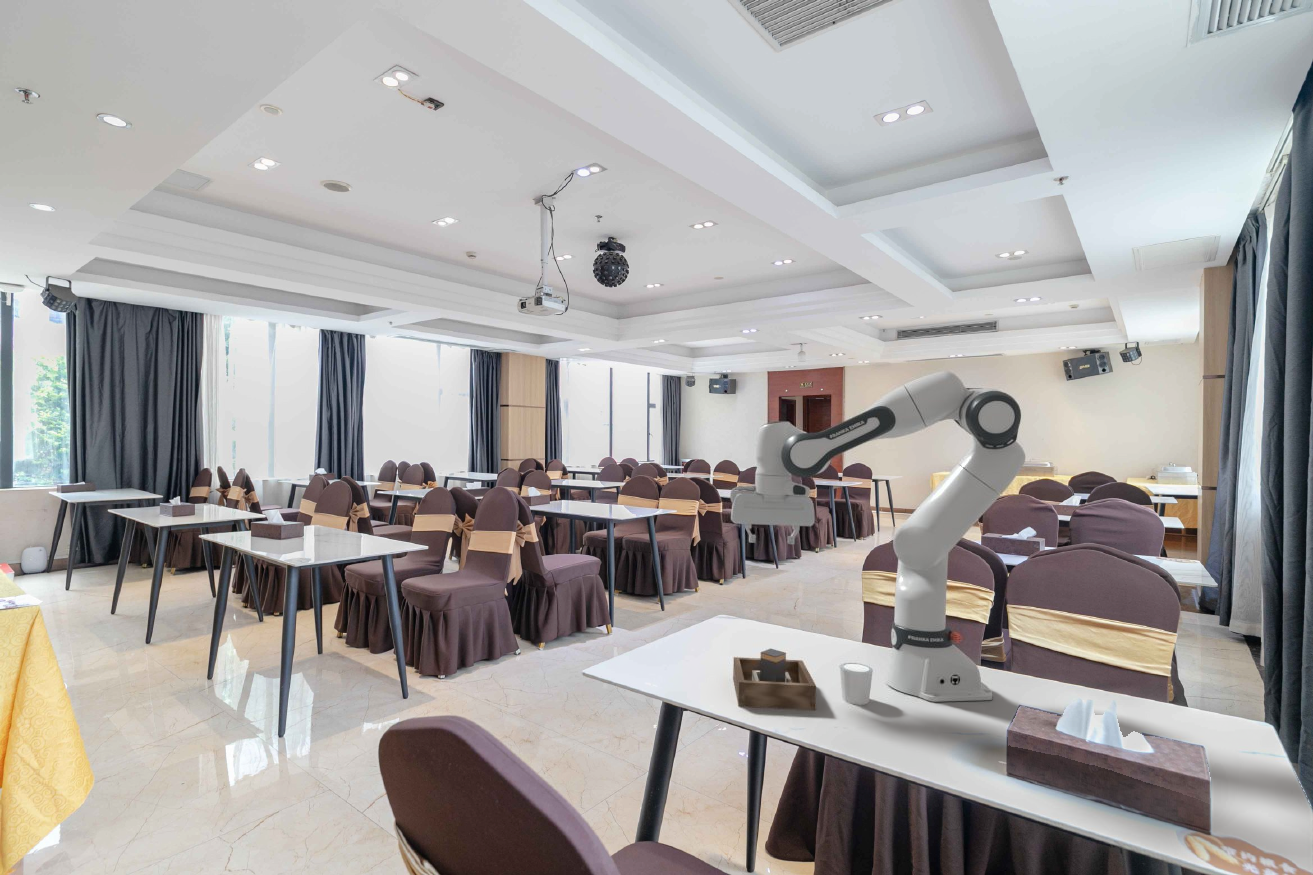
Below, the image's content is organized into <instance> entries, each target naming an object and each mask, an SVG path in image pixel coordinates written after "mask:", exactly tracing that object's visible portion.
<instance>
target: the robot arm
mask: <svg viewBox="0 0 1313 875" xmlns="http://www.w3.org/2000/svg"><path fill="white" fill-rule="evenodd" d="M947 420H953V421H954V422H955V423H956V424H957V425H958V426H959V427H960V428H961V429H963V430H964V431H965V432H967V434H969V435H971V436H972V444H971V446H970V448H969V450H968V452H967V453H966V454H965V455H964V457H962V458H961V460H960V461H959V462H958V463H956V465H955V466H954V467H953V469H951V470H950V472H949V473H948V474H947V475H946V476H945V477H944V479H943V480H942V481H940V483H939V484H938V485H937V486H936V487H935V488H934V490H932V492H931V493H930V494H929V495H928V496H927V497H926V498H925V499H924V501H923V502H921V504H920V505H919V506H918V507H917V508H916V509H915V510H914V511H913V512H912V514H910V516H908V518H907V519H906V520H905V521H904V522H903V524H902V525H900V527H899V528H898V529H897V530H896V532H895V534H894V537H893V540H892V543H893V544H892V545H893V546H892V547H893V550H894V553H895V555H896V557H897V561H898V562H897V571H896V579H895V586H894V614H893V615H894V621H892V622H891V624H892V625H891V636H890V637H891V639H890V640H891V646H892V652H891V655H890V656H891V657H890V661H889V662H890V663H889V667H888V671H887V675H886V678H885V683H886V685H888V686H889V687H891V688H892V689H895V690H897V691H899V692H902V693H905V694H908V695H912V696H916V697H918V698H920V699H923V700H926V701H929V702H935V703H938V702H968V701H973V702H975V701H991V700H993V692H992V690H991V688H989V686H987V685H986V684H985V683H983V682H982V680H981V679H982V678H981V673H980V669H979V668H978V666H977V664H976V663H975V662H974V661H973V660H972V659H971V658H970V657H969V656H968V655H966V653H964V652H963V651H962V650H961V649H959V648H958V647H957V646H956V645H955V644H954V642H955V643H957V644H958V643H961V642H962V641H963V636H962V635H961V634H960V633H958V632H957V631H953V630H951V629H950V628H948V627H947V626H946V619H947V616H946V615H947V614H946V611H947V587H948V583H947V582H948V567H949V564H948V563H949V552H951V551H952V549H953V548H954V547H955V546H956V545H957V544H958V543H959V542H960V541H961V539H962V538H963V537H964V536H965V535H966V534H967V533H968V531H969V530H970V529H971V528H972V527H973V526H974V525H975V524H976V523H977V521H978V520H979V519H980V518H981V517H982V516H983V514H985V513H986V512H987V511H988V509H989V508H991V506H992V505H993V504H994V503H995V502H996V501H997V499H999V498H1000V497H1001V495H1002V494H1003V493H1004V492H1005V491H1006V490H1007V489H1008V488H1009V486H1010V485H1011V484H1012V482H1013V481H1014V480H1015V478H1016V477H1017V475H1018V474H1019V472H1020V471H1021V470H1022V467H1023V466H1024V464H1025V462H1026V453H1025V451H1024V449H1023V447H1022V446H1021V445H1020V444H1019V443H1018V441H1017V440H1018V434H1019V429H1020V428H1019V427H1020V424H1021V422H1022V421H1021V420H1022V411H1021V408H1020V405H1019V403H1018V402H1017V401H1016V399H1015V398H1014V397H1013V396H1012V395H1010V394H1008V393H1006V392H1003V391H1001V390H998V389H996V388H980V387H979V388H978V387H977V388H976V387H973V388H972V387H966V386H965V385H964V383H963V381H962V380H961V378H960V377H958V376H957V375H956V374H954V373H953V372H951V371H947V370H942V371H937V372H935V373H934V372H932V373H930V374H928V375H925V376H922V377H919V378H917V379H913V380H912V381H911V380H910V381H909V382H907V383H905V384H902V385H900V386H898V387H896V388H895V389H893V390H891V391H889V392H888V393H886V394H885V395H883V396H882V397H880V398H879V399H877V401H875V402H874V403H872V404H870V405H869V406H868V407H867V408H865V409H864V410H863V411H861V412H860V413H858V414H857V415H854V416H853V417H851V418H849V419H846V420H844V421H843V422H840V423H838V424H835V425H833V426H831V427H829V428H826V429H825V430H824V429H823V430H822V431H818V432H806V431H804V430H801V429H799V428H798V427H797V426H794V425H793V424H792V423H791V422H790V421H787V420H781V421H778V420H777V421H772V422H771V421H770V422H768V423H764V424H762V425H761V426H760V428H759V429H758V432H757V436H756V444H755V459H756V469H755V475H754V476H755V477H754V479H755V481H754V485H751V486H750V485H747V486H743V485H737V486H736V487H733V488H732V489H731V490H730V496H729V497H730V499H729V500H730V502H731V504H732V506H731V512H730V513H731V514H730V520H731V522H732V523H734V524H740V525H741V524H742V525H744V528H745V530H746V532H747V535H748V542H749V543H754V544H755V543H756V538H757V536H756V534H753V533H752V532H751V530H750V529H752V525H766V526H768V525H769V526H770V525H771V526H792V530H793V532H792V533H791V534H790V535H787V544H788V545H795V541H796V540H795V539H796V537H797V535H798V533H799V532H800V527H812V526H813V525H814V524H815V521H816V518H815V508H814V506H815V504H814V503H813V499H812V498H811V497H809V496H810V495H811V489H810V487H808V486H807V485H804V484H801V483H799V482H797V481H793V480H792V476H794V477H796V478H803V479H805V478H811V477H814V476H815V475H818V474H821V473H823V472H824V471H825V470H826V469H827V468H829V466H830V464H831V462H832V459H833V458H834V459H835V457H837V456H839V455H841V454H843V453H846V452H848V451H850V450H852V449H855V448H856V447H859V446H861V445H863V444H865V443H868V442H871V441H877V440H882V439H883V440H884V439H896V438H900V437H904V436H907V435H912V434H915V433H917V432H919V431H922V430H924V429H926V428H928V427H931V426H933V425H935V424H937V423H939V422H943V421H947Z"/></svg>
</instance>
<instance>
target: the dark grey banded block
mask: <svg viewBox="0 0 1313 875" xmlns="http://www.w3.org/2000/svg"><path fill="white" fill-rule="evenodd" d="M760 658H761V660H760V681H768V682H785V670H786V660H787V653H786V652H784V651H782V650H781V651H780V650H777V649H774V648H768V649H765V650H762V651H760Z"/></svg>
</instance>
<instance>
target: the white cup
mask: <svg viewBox="0 0 1313 875" xmlns="http://www.w3.org/2000/svg"><path fill="white" fill-rule="evenodd" d="M839 670H840V672H839V673H840V676H839V677H840V687H841V688H840V689H841V698H842V700H843V701H844V702H845V703H848V704H852V705H857V706H862V705H863V706H864V705H867V704H869V702H870V697H871V689H872V680H873V679H872V678H873V669H872V667H870V666H869V665H867V664H863V663H857V662H844V663H840V665H839Z"/></svg>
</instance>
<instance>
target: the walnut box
mask: <svg viewBox="0 0 1313 875" xmlns="http://www.w3.org/2000/svg"><path fill="white" fill-rule="evenodd" d="M760 660H761V657H760V658H757V657H756V658H755V657H740V656H739V657H738V656H737V657H735V656H733V665H732V666H733V668H732V670H733V672H732V673H733V674H732V681H733V686H734V689H735V690H734V691H735V696H736V700H737V706H738V707H749V708H750V707H752V708H765V709H766V708H767V709H787V710H788V709H789V710H806V711H809V710H810V711H816V709H817V708H816V706H817V704H816V703H817V684H816V683H815V681H814V680H813V677H812V676H811V674H810V672H809V670H808V668H807V666H806V665H805V663H804V661H803V659H802V660H799V659H797V660H796V659H786V670H785V682H768V681H760Z"/></svg>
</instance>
